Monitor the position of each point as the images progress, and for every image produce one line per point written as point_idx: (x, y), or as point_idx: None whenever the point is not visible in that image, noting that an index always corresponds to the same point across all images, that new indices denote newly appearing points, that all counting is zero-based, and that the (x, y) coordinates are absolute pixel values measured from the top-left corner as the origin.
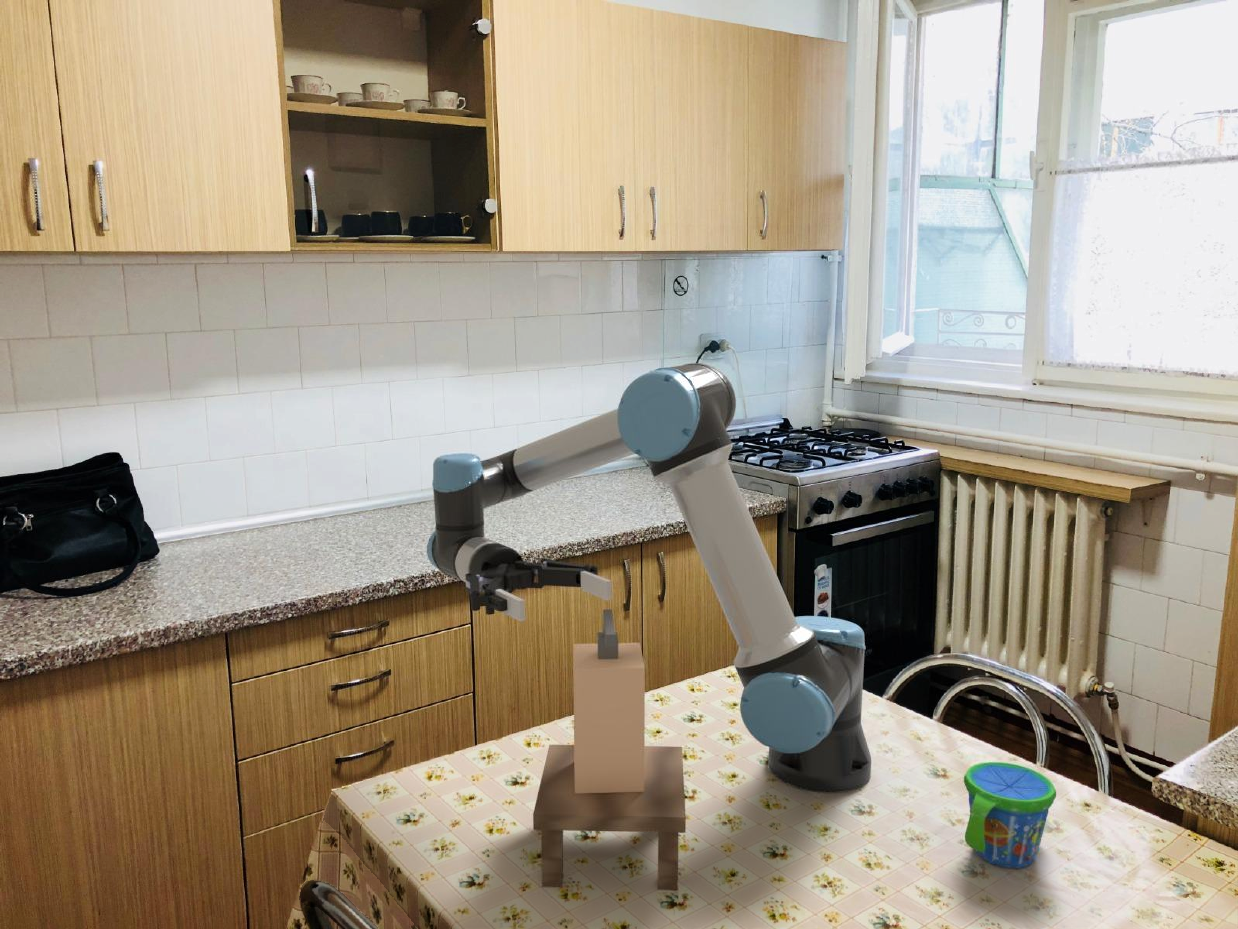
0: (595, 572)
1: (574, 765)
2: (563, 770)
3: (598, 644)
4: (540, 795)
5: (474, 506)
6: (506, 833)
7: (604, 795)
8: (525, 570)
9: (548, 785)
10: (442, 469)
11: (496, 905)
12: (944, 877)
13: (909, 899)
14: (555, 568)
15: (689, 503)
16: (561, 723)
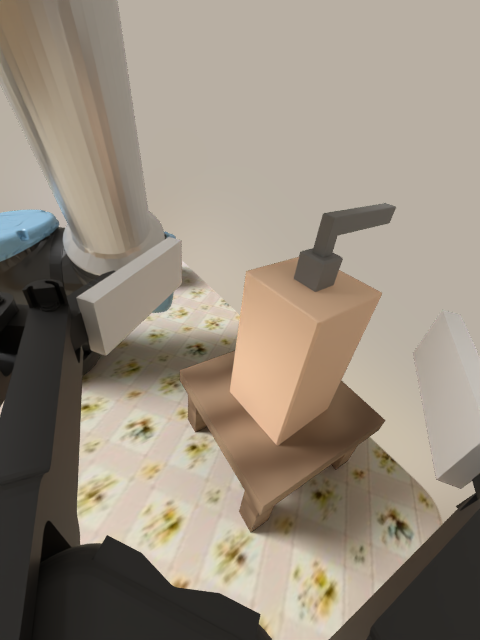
0: (19, 307)
1: (327, 398)
2: (303, 444)
3: (339, 265)
4: (359, 434)
5: None
6: (318, 564)
7: None
8: (87, 606)
9: (339, 439)
10: None
11: (393, 479)
12: (178, 291)
13: (205, 299)
14: (26, 413)
15: None
16: None
